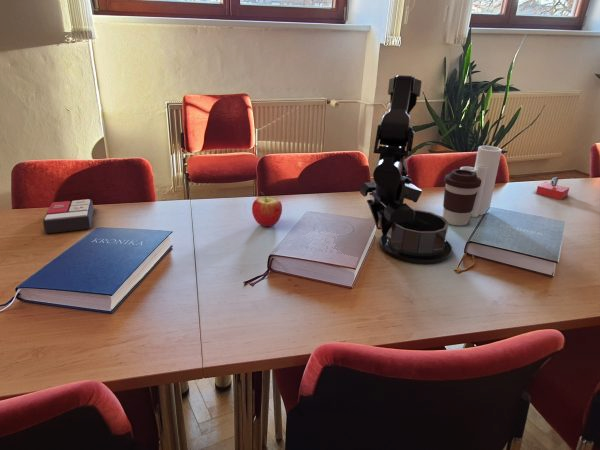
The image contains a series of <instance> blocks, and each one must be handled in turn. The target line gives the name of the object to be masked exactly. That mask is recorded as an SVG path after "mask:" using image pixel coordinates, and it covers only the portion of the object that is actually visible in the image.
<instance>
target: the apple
mask: <svg viewBox="0 0 600 450" xmlns="http://www.w3.org/2000/svg"><path fill="white" fill-rule="evenodd" d="M260 194H262V196H263V197H262V196H261V197H257V198H256V199H254V201H253V202H252V205H251V213H252V216H253V218H254V220H255V222H256V223H257V224H258V225H261V226H263V227H271V226H274V225H276V224H277V223H278V222H279V220H280V219H281V216H282V213H283V205H282V202H281V200H279V199H276V198H272V197H266V194H264V192H262V191H260Z"/></svg>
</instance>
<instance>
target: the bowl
mask: <svg viewBox="0 0 600 450" xmlns="http://www.w3.org/2000/svg"><path fill="white" fill-rule="evenodd" d="M413 210H414V211H415V217H414V220H413V221H405V222H395V223H393V224H392V226H391V227H390V229H389V231H388V233H387V242H388V244H389V245H390V246H391V247H392V248H393V249H395V250H397V251H399V252H401V253H404V254H408V255H413V256H433V255H437V254H439V253H441V252H442V251H443V250H444V247H445V244H446V241H447V239H448V232H449V226H450V224H449V223H448V222H447V221H446V220H445V219H444V218H443V216H441V215H439V214H436V213H434V212H431V211H425V210H421V209H413ZM378 227H379V228H381V227H380V222H379V220H378Z"/></svg>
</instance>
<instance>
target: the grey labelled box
mask: <svg viewBox="0 0 600 450" xmlns="http://www.w3.org/2000/svg"><path fill="white" fill-rule="evenodd" d="M93 215H94V203H93V200H91V199H90V198H87V199H86V198H85V199H76V200H72V201H70V200H66V201H65V200H64V201H55V202H51V204H50V206H49V207H48V209H47V211H46V214H45V215H44V218H43V220H42V224H43V229H44V233H45V234H55V233H65V232H71V231H72V232H73V231H82V230H90V229H91V228H92V220H93Z"/></svg>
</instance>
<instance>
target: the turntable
mask: <svg viewBox="0 0 600 450" xmlns="http://www.w3.org/2000/svg"><path fill="white" fill-rule="evenodd" d="M379 248H380V249H381V250H382V252H384V253H385V254H386V255H387V256H389V257H391V258H393V259H395V260H398V261H401V262H403V263H409V264H415V265H435V264H440V263H443V262H445V261H447V260H448V259H449V258H450V257H451V255H452V249H453V247H452V245H451V243H450V242H449V241H448V240H446V244H445V247H444V250H443V251H442V252H441V253H439V254H437V255H433V256H413V255H408V254H404V253H401V252H399V251H397V250H395V249H393V248H392V247H391V246H390V245H389V244H388V242H387V234H386V235H383V234H382V235H381V236H380V239H379Z"/></svg>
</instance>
